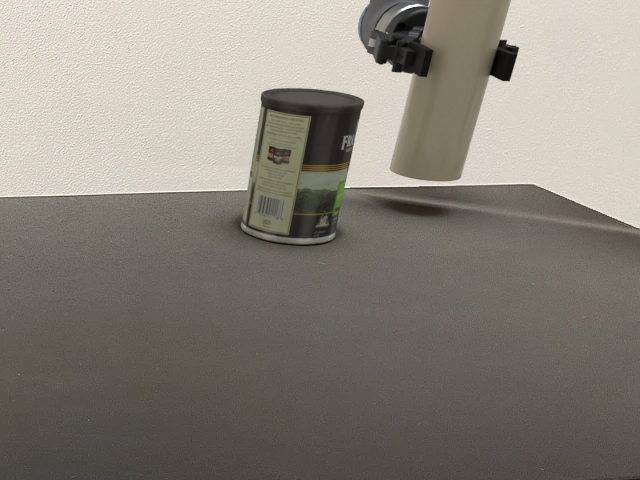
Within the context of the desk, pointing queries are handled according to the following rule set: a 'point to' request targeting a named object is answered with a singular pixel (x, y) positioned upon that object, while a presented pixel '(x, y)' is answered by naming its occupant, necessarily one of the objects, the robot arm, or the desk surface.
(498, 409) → the desk surface
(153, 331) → the desk surface
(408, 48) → the robot arm
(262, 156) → the coffee can
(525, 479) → the desk surface
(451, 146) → the jar
